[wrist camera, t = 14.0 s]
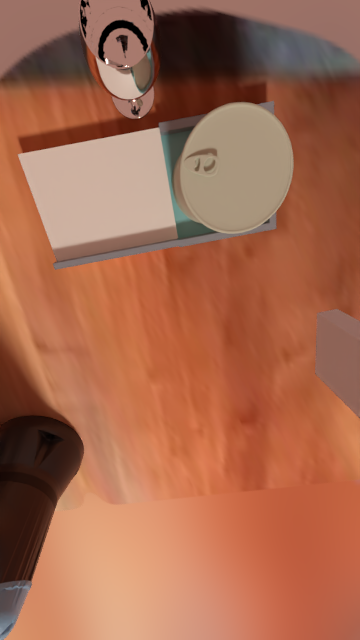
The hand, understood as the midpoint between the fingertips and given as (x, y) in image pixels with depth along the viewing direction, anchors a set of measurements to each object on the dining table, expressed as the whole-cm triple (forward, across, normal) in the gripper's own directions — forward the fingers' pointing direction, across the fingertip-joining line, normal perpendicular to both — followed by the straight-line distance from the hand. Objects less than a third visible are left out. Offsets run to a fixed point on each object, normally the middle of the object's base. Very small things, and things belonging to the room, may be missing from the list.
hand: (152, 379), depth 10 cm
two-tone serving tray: (+26, +2, +7) cm, 28 cm away
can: (+26, +9, +7) cm, 29 cm away
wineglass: (+27, +2, +17) cm, 32 cm away
